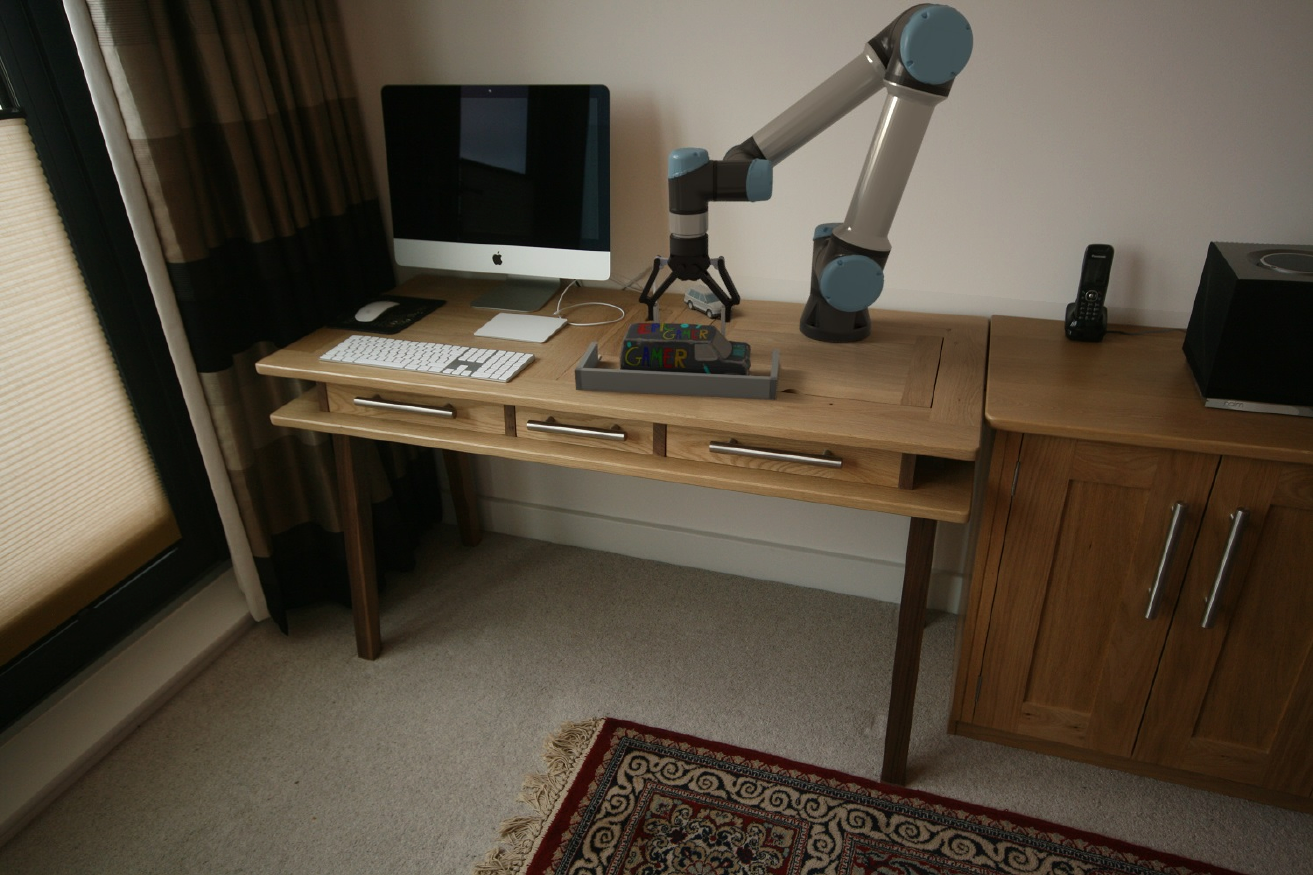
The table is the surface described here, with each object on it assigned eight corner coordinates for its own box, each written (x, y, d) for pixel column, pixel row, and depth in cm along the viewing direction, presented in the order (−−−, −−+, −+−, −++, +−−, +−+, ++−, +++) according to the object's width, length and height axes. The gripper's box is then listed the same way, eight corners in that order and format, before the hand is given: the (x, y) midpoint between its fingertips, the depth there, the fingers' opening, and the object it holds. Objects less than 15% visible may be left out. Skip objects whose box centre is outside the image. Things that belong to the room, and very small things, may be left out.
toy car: (714, 322, 194) (715, 301, 192) (682, 307, 204) (682, 286, 202) (735, 317, 197) (735, 296, 195) (702, 302, 207) (702, 281, 204)
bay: (778, 364, 172) (779, 345, 170) (775, 399, 158) (776, 379, 156) (595, 355, 178) (594, 337, 176) (575, 389, 163) (574, 370, 161)
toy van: (749, 393, 161) (750, 342, 156) (617, 387, 164) (615, 338, 159) (751, 370, 170) (753, 322, 166) (627, 365, 173) (625, 318, 169)
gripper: (754, 228, 169) (751, 331, 179) (628, 227, 172) (632, 328, 182) (753, 238, 162) (750, 344, 172) (621, 237, 165) (626, 341, 175)
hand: (689, 336), depth 177 cm, fingers open, 13 cm apart
